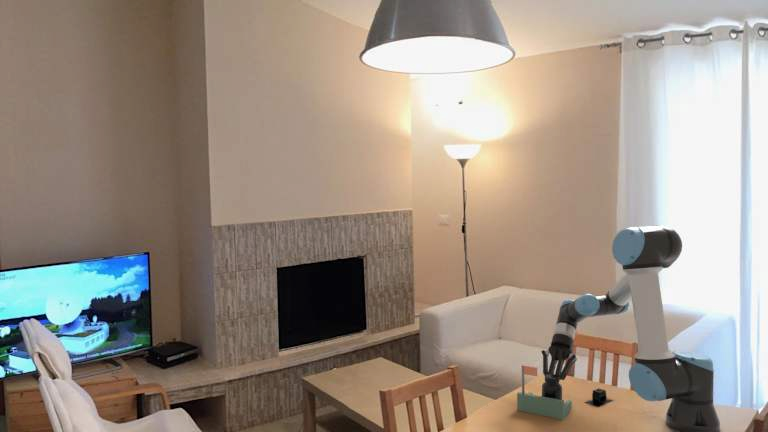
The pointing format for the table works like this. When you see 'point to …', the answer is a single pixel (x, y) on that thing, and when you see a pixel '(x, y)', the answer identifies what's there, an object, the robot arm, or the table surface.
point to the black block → (599, 398)
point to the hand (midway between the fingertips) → (548, 395)
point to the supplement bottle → (552, 387)
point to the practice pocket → (540, 400)
